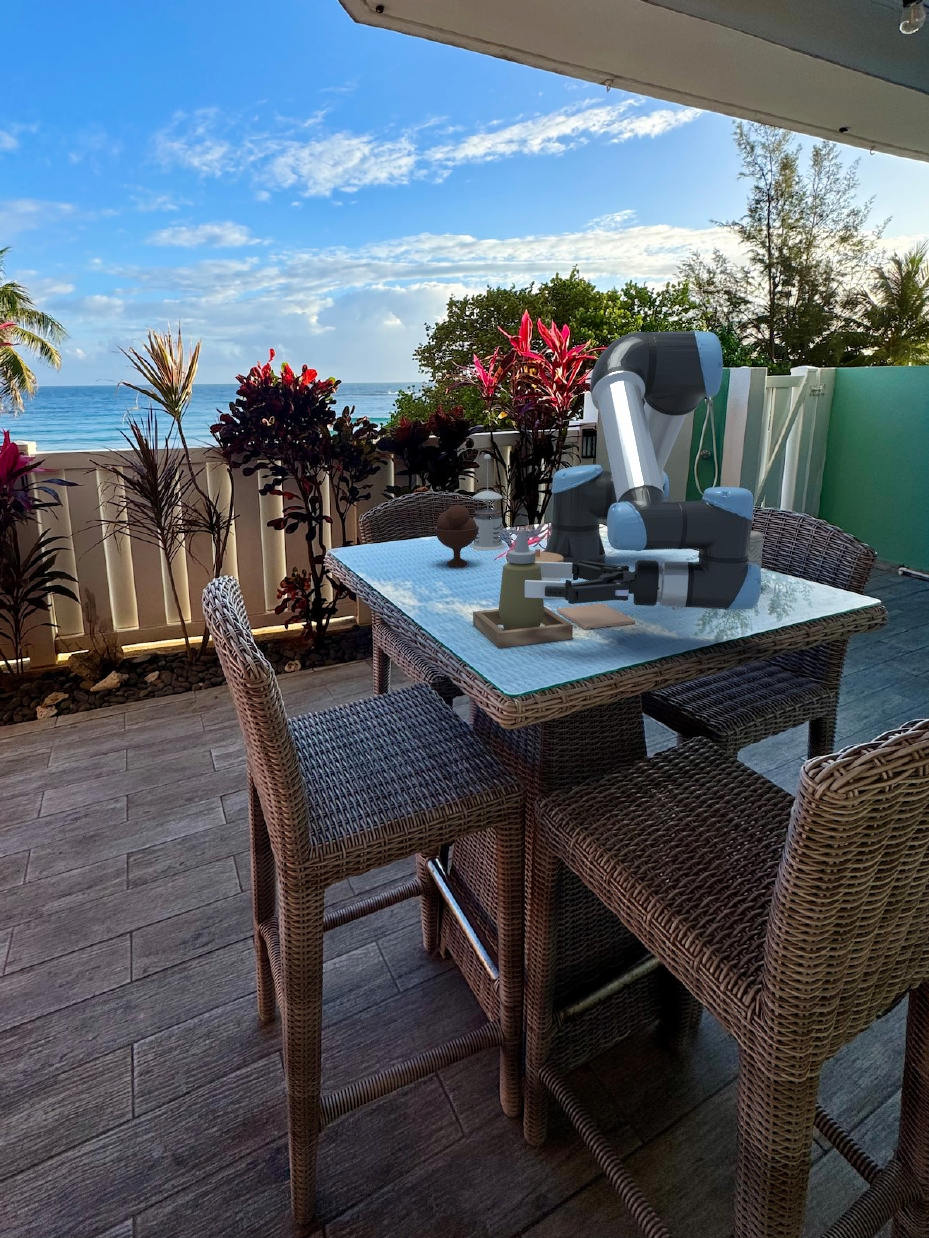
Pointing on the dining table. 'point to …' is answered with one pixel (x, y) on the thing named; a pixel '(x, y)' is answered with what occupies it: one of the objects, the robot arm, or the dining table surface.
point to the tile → (595, 616)
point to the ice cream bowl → (456, 532)
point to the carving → (755, 548)
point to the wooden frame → (551, 632)
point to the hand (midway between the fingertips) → (530, 578)
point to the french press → (488, 521)
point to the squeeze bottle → (520, 588)
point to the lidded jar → (548, 560)
